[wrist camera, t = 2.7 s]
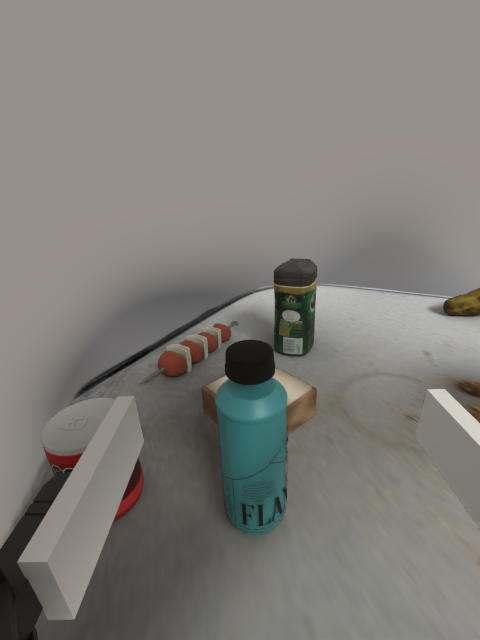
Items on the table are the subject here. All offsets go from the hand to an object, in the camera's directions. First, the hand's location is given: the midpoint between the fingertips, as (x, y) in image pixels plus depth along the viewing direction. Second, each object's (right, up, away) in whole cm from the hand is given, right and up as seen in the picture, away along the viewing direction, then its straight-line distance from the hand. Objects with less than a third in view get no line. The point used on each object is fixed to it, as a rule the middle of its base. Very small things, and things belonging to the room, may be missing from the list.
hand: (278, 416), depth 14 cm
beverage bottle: (0, -16, +18) cm, 24 cm away
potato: (+56, +5, +61) cm, 83 cm away
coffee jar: (+10, -1, +51) cm, 52 cm away
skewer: (-11, -3, +49) cm, 51 cm away
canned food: (-17, -16, +21) cm, 31 cm away
